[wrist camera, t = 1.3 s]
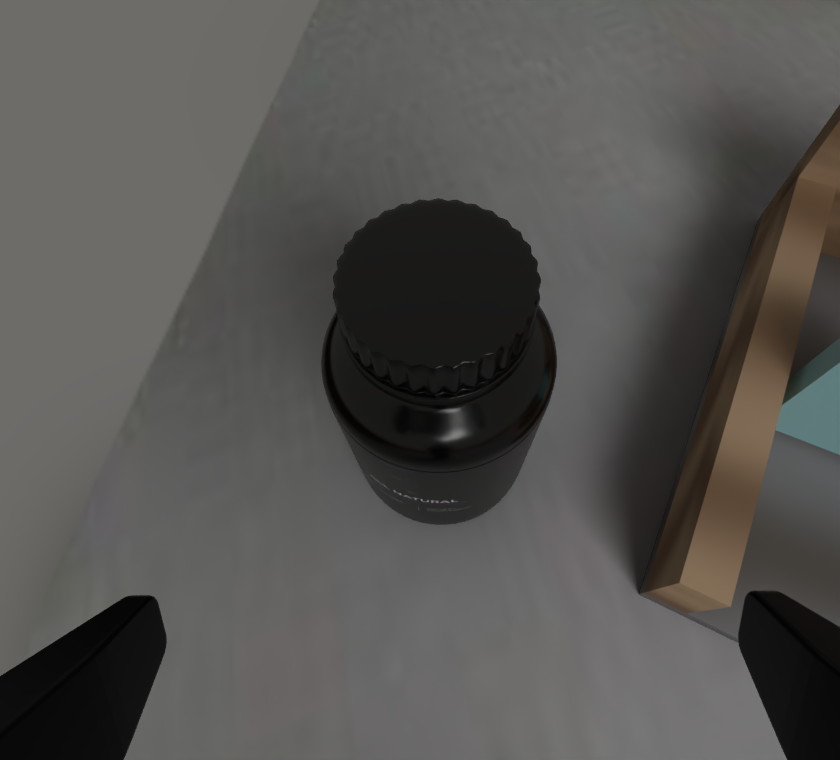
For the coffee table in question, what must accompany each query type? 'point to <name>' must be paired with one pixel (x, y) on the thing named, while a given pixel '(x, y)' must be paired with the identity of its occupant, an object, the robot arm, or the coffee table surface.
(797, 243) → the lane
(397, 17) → the coffee table surface
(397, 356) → the supplement bottle
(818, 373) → the pusher
